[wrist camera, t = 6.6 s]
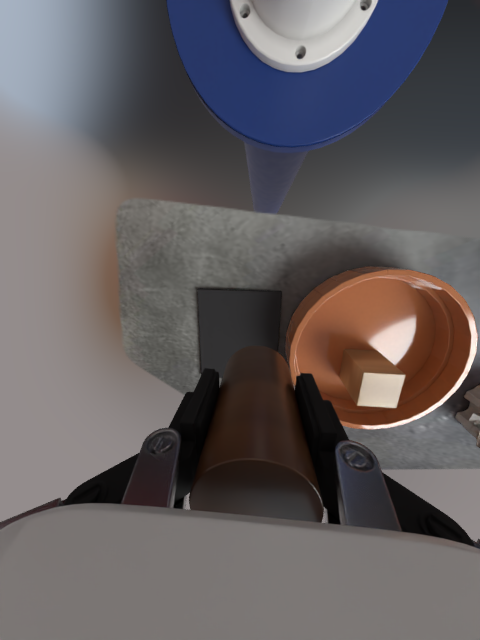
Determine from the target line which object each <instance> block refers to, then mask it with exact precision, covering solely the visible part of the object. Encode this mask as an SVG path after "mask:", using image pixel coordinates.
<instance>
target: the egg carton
mask: <svg viewBox="0 0 480 640" xmlns="http://www.w3.org/2000/svg"><path fill="white" fill-rule="evenodd" d="M464 398H466V399H467V400H469V401H470V405H469V407H468V409H467V410H465V411H463V412H458V413H457V415H456V417H455V418H456V419H457V420H458V421H459V422H460V423H461V424H462V425H463V427H464V428H466V430H467V431H468V432H469V433H470V434H472V435H473V436H474V437H475V438H476V440H477V443H476V446H478V447H479V448H480V385H478V386H477V387H475V388H474V389H472V390H469V391H467V392H466V394H465V395H464Z"/></svg>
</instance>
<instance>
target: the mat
mask: <svg viewBox="0 0 480 640" xmlns="http://www.w3.org/2000/svg"><path fill="white" fill-rule="evenodd" d="M281 295H282V292H281V291H254V290H220V289H198V308H199V330H200V352H201V375H202V373H203V371H204V369H205V368H209V369H215V371H216V372H219V378H223V374H224V371H225V367H226V364H227V362H228V360H229V359H230V357H231V356H232V355H233V354H234V353H235V352H237V351H238V350H240V349H242V348H245V347H248V346H265V347H268V348H271V349H273V350H275V351H276V352H277V350H278V336H279V323H280V309H281Z"/></svg>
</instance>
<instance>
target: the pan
mask: <svg viewBox="0 0 480 640" xmlns="http://www.w3.org/2000/svg"><path fill="white" fill-rule="evenodd" d="M477 339H478V336H477V329H476V324H475V318H474V316H473V314H472V312H471V310H470V308H469V306H468V304H467V302H466V301H465V299H464V298H463V297H462V296H461V295H460V294H459V293H458V292H457V291H456V290H455V289H454V288H453V287H452V286H451V285H449V284H447V283H445V282H443V281H442V280H440V279H438V278H436V277H434V276H432V275H429V274H425V273H421V272H417V271H413V270H407V269H400V268H393V267H379V266H366V267H361V268H356V269H351V270H348V271H345V272H342V273H340V274H338V275H335V276H333V277H331V278H329V279H327V280H326V281H324V282H323V283H321V284H320V285H319V286H317V287H316V288H314V289H313V290H312V291H311V292H310V293H309V294H308V295H307V296H306V297H305V298H304V299H303V300H302V301H301V303H300V304H299V306H298V308H297V309H296V311H295V312H294V314H293V316H292V318H291V320H290V323H289V326H288V329H287V333H286V343H285V350H286V356H287V362H288V366H289V370H290V374H291V378H292V381H293V383H294V385H296V376H300V373H311V374H312V375H313V377H314V379H315V382H316V384H317V387H318V389H319V391H320V394H321V396H322V398H323V400H330V401H331V403H332V405H333V407H334V409H335V411H336V413H337V416H338V418H339V420H340V422H341V424H342V425H343V426H347V427H351V428H358V429H381V428H391V427H395V426H398V425H402V424H406V423H409V422H411V421H414V420H416V419H418V418H420V417H422V416H425V415H427V414H429V413H430V412H431V411H433V410H434V409H436V408H437V407H439V406H440V405H442V404H443V403H444V402H445V401H446V400H447V399H448V398H449V397H450V396H451V395H452V394H453V393H454V392H455V391H456V390H457V389H458V388H459V387H460V385H461V384H462V382H463V381H464V379H465V378H466V376H467V375H468V372H469V371H470V368H471V366H472V363H473V360H474V358H475V354H476V348H477ZM344 349H356V350H377V351H379V352H380V353H381V354H382V355H383V356H384V357H386V358H387V359H388V360H389V361H390V362H391V363H393V364H394V365H395V366H396V367H397V368H398V369H400V370H401V371H402V372H403V373H404V374H405V379H404V383H403V386H402V390H401V393H400V397H399V400H398V404H397V408H385V407H370V406H357V405H356V404H355V402H354V400H353V399H352V397H351V396H350V394H349V392H348V391H347V389H346V388H345V386H344V384H343V383H342V381H341V380H340V378H339V374H340V368H341V362H342V356H343V351H344Z"/></svg>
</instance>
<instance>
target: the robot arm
mask: <svg viewBox="0 0 480 640" xmlns="http://www.w3.org/2000/svg"><path fill="white" fill-rule="evenodd" d="M377 2H378V0H230V7H231V10H232V13H233V17H234V20H235V24H236V26H237V28H238V30H239V32H240V34H241V37H242V39H243V40H244V42H245V43H246V45H247V46H248V47H249V49H250V50H251V51H252V53H253V54H255V55H256V56H257V57H258V58H259V59H260V60H261V61H262V62H264V63H265V64H267V65H269V66H271V67H273V68H274V69H278V70H281V71H285V72H306V71H310V70H315V69H317V68H319V67H321V66H324V65H326V64H328V63H330V62H331V61H332V60H334V59H335V58H336V57H338V56H339V55H341V54H342V53H343V52H344V51H345V50H346V49H347V48H348V47H349V46H350V45H351V44H352V43H353V42H354V41H355V39H356V38H357V37H358V35H359V34H360V32H361V31H362V30H363V28H364V27H365V25H366V24H367V22H368V20H369V18H370V16H371V14H372V12H373V10H374V8H375V6H376V4H377ZM297 58H301V59H297ZM218 392H219V372H216V371H215V369H209V368H205V369H204V371H203V373H202V375H201V377H200V379H199V382H198V384H197V386H196V388H195V390H194V392H187V393H186V394H185V396H184V398H183V400H182V402H181V404H180V406H179V408H178V410H177V412H176V414H175V416H174V418H173V420H172V422H171V424H170V426H169V428H162V429H158V430H156V431H154V432H153V433H151V434H150V435H149V436H148V437H147V438H146V439H145V441H144V442H143V445H142V448H141V450H140V453H138V454H136V455H134V456H133V457H131V458H129V459H127V460H125V461H123V462H121V463H119V464H118V465H116V466H114V467H112V468H110V469H108V470H107V471H105V472H103V473H101V474H99V475H97V476H95V477H93V478H92V479H90V480H88V481H86V482H84V483H83V484H81V485H80V486H78V487H77V488H76V489H75V490H74V491H73V492H72V493H71V494H70V495H69V496H68V498H67V499H65V500H63V501H61V498H58V499H55V500H53V501H51V502H48V503H46V504H43V505H41V506H38V507H36V508H34V509H31V510H29V511H26V512H24V513H22V514H19V515H17V516H14V517H12V518H10V519H7V520H5V521H2V522H0V640H480V539H478V541H477V542H475V541H473V540H471V539H470V537H469V536H468V535H467V533H466V532H465V531H464V530H463V529H462V528H461V527H460V526H459V525H458V524H457V523H456V522H455V521H454V520H453V519H451V518H450V517H449V516H447V515H446V514H444V513H443V512H441V511H440V510H438V509H437V508H435V507H434V506H432V505H431V504H429V503H428V502H426V501H425V500H423V499H422V498H420V497H419V496H417V495H415V494H414V493H413V492H411V491H410V490H408V489H407V488H405V487H404V486H402V485H401V484H399V483H398V482H396V481H394V480H393V479H391V478H390V477H389V476H387V475H386V474H384V473H382V471H381V468H380V465H379V462H378V460H377V458H376V456H375V455H374V454H373V452H372V451H371V450H369V449H368V448H367V447H366V446H364V445H362V444H360V443H358V442H355V441H350V440H349V439H348V437H347V435H346V433H345V430H344V428H343V426H342V424H341V422H340V420H339V418H338V416H337V413H336V411H335V409H334V407H333V405H332V403H331V401H330V400H323V398H322V396H321V394H320V391H319V389H318V387H317V384H316V382H315V379H314V377H313V375H312V374H311V373H300V376H296V385H295V394H296V398H297V402H298V406H299V410H300V414H301V418H302V422H303V426H304V430H305V433H306V437H307V441H308V445H309V449H310V453H311V457H312V461H313V465H314V469H315V473H316V477H317V481H318V485H319V489H320V493H321V497H322V501H323V506H324V507H325V522H326V523H318V522H309V521H299V520H289V519H279V518H269V517H259V516H249V515H239V514H228V513H218V512H208V511H197V510H186V509H185V506H186V495H187V494H188V493H190V490H191V487H192V483H193V480H194V476H195V473H196V469H197V466H198V462H199V459H200V455H201V452H202V448H203V445H204V441H205V438H206V434H207V431H208V427H209V424H210V420H211V417H212V413H213V410H214V406H215V403H216V399H217V396H218Z"/></svg>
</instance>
